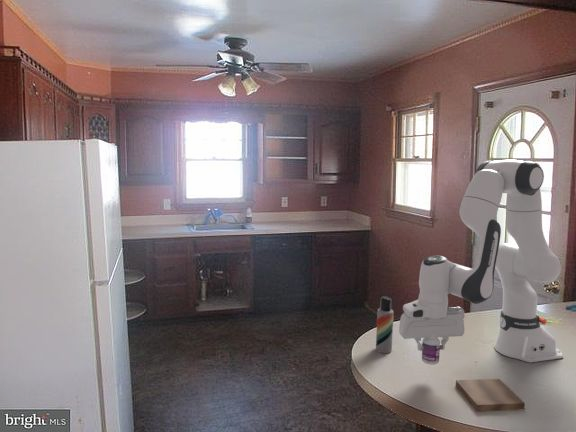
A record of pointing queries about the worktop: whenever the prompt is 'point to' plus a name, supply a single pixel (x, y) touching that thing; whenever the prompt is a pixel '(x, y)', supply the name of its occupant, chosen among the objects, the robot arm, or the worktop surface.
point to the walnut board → (489, 395)
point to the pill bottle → (431, 350)
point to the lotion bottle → (384, 326)
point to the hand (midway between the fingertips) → (430, 349)
